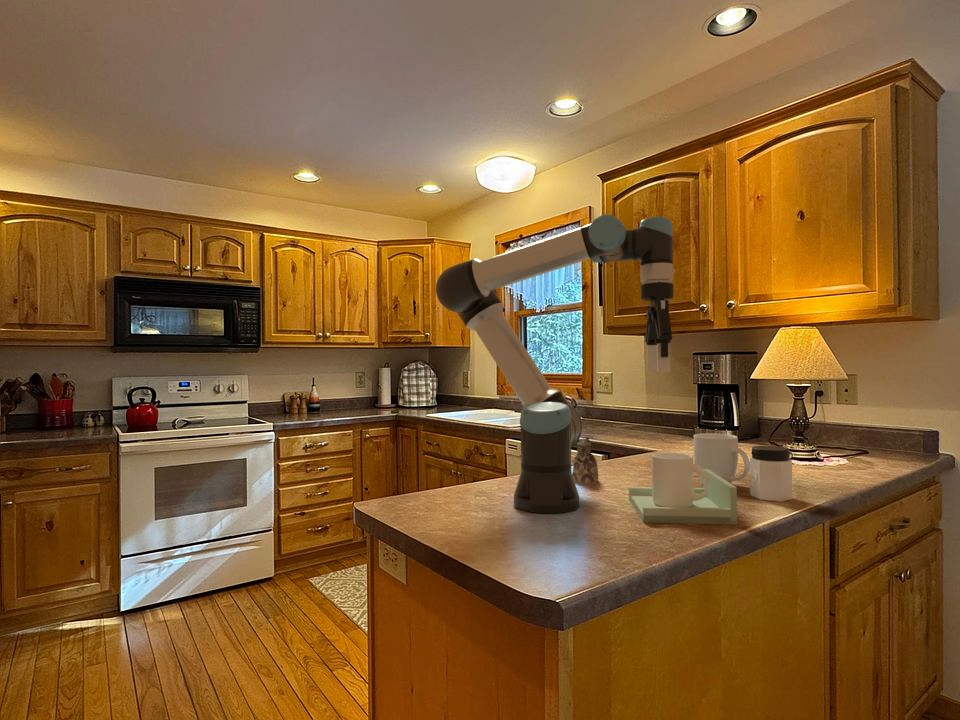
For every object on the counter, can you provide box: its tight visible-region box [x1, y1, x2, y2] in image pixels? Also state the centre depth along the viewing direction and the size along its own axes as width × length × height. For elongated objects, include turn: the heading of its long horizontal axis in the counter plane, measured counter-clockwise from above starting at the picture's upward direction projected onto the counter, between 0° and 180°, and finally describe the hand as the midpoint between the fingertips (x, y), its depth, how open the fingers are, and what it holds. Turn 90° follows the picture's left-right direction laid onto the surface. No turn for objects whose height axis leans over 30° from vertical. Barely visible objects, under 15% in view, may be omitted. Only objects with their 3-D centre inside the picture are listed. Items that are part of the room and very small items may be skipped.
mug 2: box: [692, 432, 750, 484], centre depth 148 cm, size 15×11×13 cm
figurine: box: [572, 436, 599, 485], centre depth 156 cm, size 7×7×12 cm
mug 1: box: [651, 452, 708, 507], centre depth 123 cm, size 9×12×11 cm
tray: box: [628, 469, 738, 525], centre depth 124 cm, size 18×19×8 cm
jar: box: [749, 445, 793, 503], centre depth 135 cm, size 9×8×12 cm
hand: (658, 371), depth 135 cm, fingers open, 13 cm apart
